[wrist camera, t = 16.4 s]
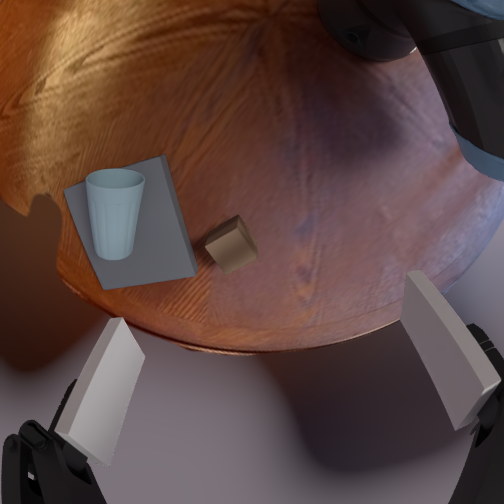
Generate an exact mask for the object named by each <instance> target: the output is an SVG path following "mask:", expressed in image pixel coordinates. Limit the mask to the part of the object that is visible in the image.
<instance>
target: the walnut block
mask: <svg viewBox="0 0 504 504" xmlns="http://www.w3.org/2000/svg"><path fill="white" fill-rule="evenodd" d="M205 248H206V249H207V251H208V252H209V253H210V255H211V256H212V257H213V259H214V260H215V261H216V263H217V264H218V265H219V267H220V268H221V269H222V271H223V272H224V273H225V274H226V275H227V274H229V273H231V272H232V271H234V270H236V269H238V268H240V267H242V266H244V265H246V264H248V263H249V262H251V261H253V260H255V259H257V258H258V256H257V241H256V240H255V238H254V237H253V235H252V234H251V232H250V231H249V229H248V228H247V226H246V225H245V223H244V222H243V220H242V219H241V217H240V216H239V215H237V216H236V217H234V218H232V219H230V220H229V221H227V222H225V223H224V224H222V225H220V226H219V227H217V228H215V229H213V230H212V231H210V232H209V235H208V238H207V241H206V244H205Z"/></svg>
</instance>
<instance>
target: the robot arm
mask: <svg viewBox="0 0 504 504" xmlns="http://www.w3.org/2000/svg"><path fill="white" fill-rule="evenodd" d="M317 6H318V12H319V15H320V18H321V20H322V22H323V24H324V26H325V28H326V29H327V31H328V32H329V33H330V34H331V36H332V37H333V38H334V39H335V40H336V41H337V42H338V43H340V44H341V45H342V46H343V47H345V48H346V49H348V50H349V51H351V52H352V53H354V54H356V55H358V56H361V57H363V58H366V59H370V60H374V61H392V60H396V59H400V58H403V57H405V56H407V55H409V54H411V53H412V52H413V51H414V50H415V49H416V48H418V50H419V52H420V53H421V56H422V58H423V60H424V62H425V64H426V66H427V68H428V70H429V72H430V74H431V76H432V78H433V80H434V83H435V85H436V87H437V90H438V92H439V94H440V97H441V99H442V102H443V104H444V107H445V110H446V112H447V115H448V118H449V125H450V127H451V129H452V131H453V132H454V134H455V136H456V138H457V141H458V144H459V147H460V150H461V152H462V154H463V156H464V158H465V159H466V161H467V162H468V163H470V164H471V165H472V166H473V167H474V168H475V169H476V170H477V171H479V172H480V173H482V174H484V175H486V176H488V177H490V178H493V179H496V180H499V181H503V182H504V0H317ZM400 321H401V322H402V324H403V326H404V327H405V329H406V331H407V333H408V335H409V336H410V338H411V340H412V342H413V344H414V345H415V347H416V349H417V351H418V353H419V355H420V357H421V359H422V361H423V362H424V365H425V367H426V368H427V370H428V372H429V374H430V376H431V378H432V380H433V382H434V385H435V387H436V389H437V391H438V392H439V395H440V397H441V399H442V401H443V404H444V406H445V408H446V410H447V413H448V415H449V417H450V419H451V422H452V424H453V426H454V429H455V430H457V429H460V428H461V427H464V426H466V425H468V424H470V423H471V422H472V421H473V419H474V418H475V417H476V416H477V415H478V418H479V420H480V421H479V422H478V423H477V424H476V426H475V427H474V428H473V429H472V431H471V433H470V435H472V434H473V433H474V432H475V431H476V432H475V435H474V438H473V442H472V445H471V448H470V451H469V454H468V457H467V460H466V463H465V466H464V468H463V471H462V473H461V476H460V478H459V481H458V483H457V486H456V488H455V490H454V493H453V495H452V497H451V499H450V501H449V503H448V504H504V359H503V358H502V356H501V355H500V353H499V352H498V350H497V349H496V348H495V347H494V345H493V343H492V342H491V341H489V338H488V336H487V335H486V334H485V332H484V331H483V330H482V329H481V328H479V327H478V326H476V325H475V324H470V325H467V326H465V325H464V323H463V322H462V320H461V319H460V318H459V317H458V315H457V314H456V313H455V311H454V310H453V309H452V307H451V306H450V305H449V304H448V302H447V301H446V300H445V298H444V297H443V296H442V295H441V294H440V292H439V291H438V290H437V289H436V287H435V286H434V285H433V284H432V283H431V281H430V280H429V279H428V278H427V277H426V276H425V274H424V273H423V272H422V271H421V270H416V271H412V272H408V273H406V279H405V288H404V296H403V303H402V310H401V316H400ZM144 359H145V356H144V354H143V352H142V351H141V349H140V347H139V346H138V344H137V342H136V341H135V339H134V337H133V335H132V334H131V332H130V330H129V328H128V326H127V325H126V323H125V321H124V319H123V317H122V318H111V319H110V320H109V322H108V323H107V325H106V327H105V329H104V331H103V332H102V334H101V336H100V338H99V340H98V341H97V343H96V345H95V347H94V349H93V351H92V353H91V355H90V356H89V358H88V361H87V362H86V364H85V366H84V368H83V370H82V372H81V374H80V376H79V378H78V379H75V380H74V381H73V382H72V383H71V385H70V386H69V387H68V389H67V391H66V393H65V395H64V398H63V399H62V401H61V405H59V407H58V410H57V412H56V414H55V416H54V418H53V421H52V423H51V425H50V428H49V430H48V431H46V430H45V429H44V428H43V427H42V426H41V425H40V424H39V423H38V422H36V421H35V420H28V421H26V422H25V423H24V424H23V425H22V426H21V427H20V430H19V432H18V435H16V434H11V435H10V436H8V437H7V438H6V440H5V442H4V446H3V454H2V475H1V476H2V477H1V479H2V480H1V482H2V483H1V493H2V494H1V495H2V504H107V503H106V501H105V499H104V497H103V495H102V493H101V490H100V488H99V486H98V484H97V482H96V479H95V477H94V475H93V472H92V470H91V467H90V466H89V464H88V463H87V462H86V461H87V458H89V459H90V460H92V461H93V462H94V463H96V464H100V465H104V466H108V467H110V464H111V461H112V457H113V454H114V450H115V447H116V443H117V440H118V437H119V433H120V430H121V427H122V424H123V421H124V417H125V414H126V411H127V408H128V405H129V402H130V399H131V396H132V393H133V390H134V387H135V384H136V381H137V378H138V375H139V373H140V370H141V367H142V364H143V361H144ZM28 472H30V473H31V474H33V475H34V480H32V479H30V478H29V477H28Z"/></svg>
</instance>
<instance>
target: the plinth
mask: <svg viewBox="0 0 504 504" xmlns="http://www.w3.org/2000/svg"><path fill="white" fill-rule="evenodd" d="M118 169H127V170H132V171H136V172H138V173H141V174H142V175H143V176H144V177H145V184H144V189H143V194H142V198H141V203H140V209H139V214H138V220H137V226H136V232H135V238H134V245H133V251H132V253H131V254H130V255H129V256H128V257H126V258H124V259H120V260H106V259H103V258H101V257H99V256H98V255H97V253H96V252H95V247H94V242H93V236H92V230H91V223H90V215H89V207H88V199H87V189H86V180H85V181H82V182H80V183H77V184H75V185H72V186H70V187H68V188H67V189H65V190H63V191H64V194H65V197H66V200H67V203H68V206H69V209H70V211H71V214H72V217H73V220H74V222H75V225H76V228H77V230H78V233H79V235H80V238H81V240H82V243H83V245H84V248H85V250H86V252H87V255H88V257H89V259H90V261H91V264H92V266H93V268H94V270H95V273H96V275H97V277H98V279H99V281H100V283H101V285H102V287H103V289H104V290H107V289H114V288H121V287H128V286H135V285H141V284H148V283H155V282H161V281H168V280H174V279H181V278H187V277H193V276H196V274H197V270H198V265H197V262H196V259H195V255H194V252H193V249H192V246H191V243H190V239H189V236H188V233H187V230H186V226H185V223H184V219H183V216H182V213H181V209H180V206H179V202H178V199H177V195H176V192H175V188H174V184H173V181H172V177H171V173H170V170H169V166H168V162H167V158H166V154H163V155H160V156H156V157H153V158H150V159H146V160H143V161H140V162H137V163H133V164H130V165H127V166H124V167H121V168H118Z"/></svg>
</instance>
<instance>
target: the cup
mask: <svg viewBox="0 0 504 504" xmlns="http://www.w3.org/2000/svg"><path fill="white" fill-rule="evenodd" d="M144 184H145V177H144V176H143V175H142V174H141V173H138V172H136V171H132V170H127V169H103V170H98V171H95V172H92V173H90V174H89V175H88V176H87V177H86V189H87V199H88V207H89V215H90V223H91V230H92V236H93V242H94V247H95V252H96V253H97V255H98V256H99V257H101V258H103V259H106V260H120V259H124V258H126V257H128V256H129V255H130V254H131V253H132V251H133V245H134V238H135V232H136V226H137V220H138V214H139V209H140V203H141V198H142V194H143V189H144Z"/></svg>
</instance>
